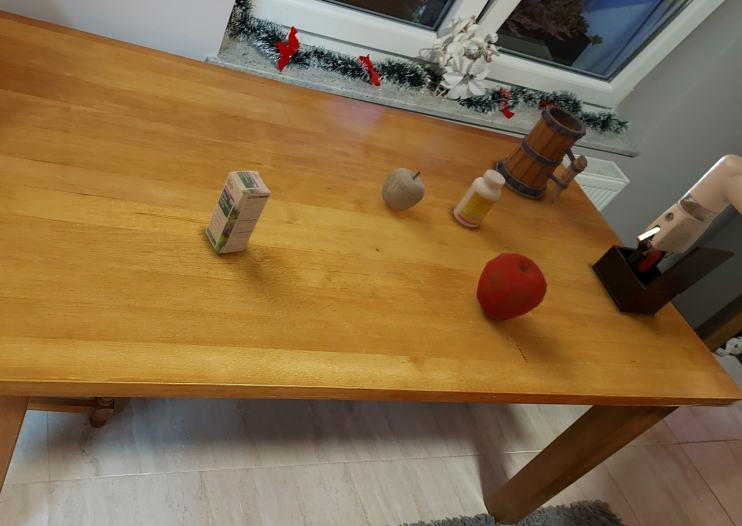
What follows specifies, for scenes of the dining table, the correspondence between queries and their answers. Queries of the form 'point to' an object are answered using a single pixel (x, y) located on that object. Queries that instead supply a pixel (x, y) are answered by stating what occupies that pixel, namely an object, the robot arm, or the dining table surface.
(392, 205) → the decorative object
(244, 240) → the syrup box
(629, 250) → the black flip-top box
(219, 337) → the dining table surface
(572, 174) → the mug
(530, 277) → the apple
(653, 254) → the red black block
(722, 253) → the lid
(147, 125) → the dining table surface
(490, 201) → the supplement bottle
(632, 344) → the dining table surface
